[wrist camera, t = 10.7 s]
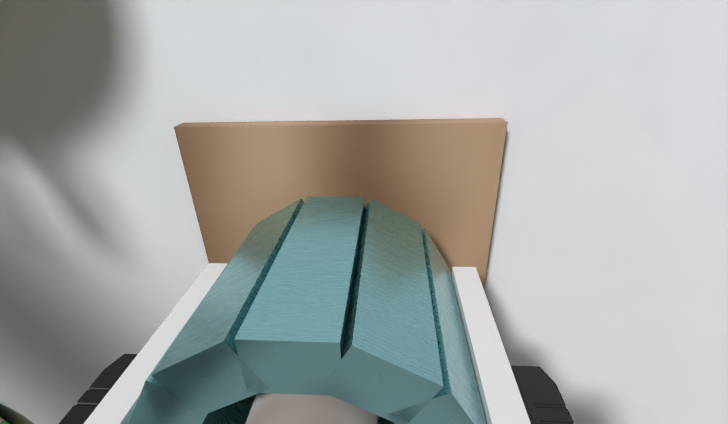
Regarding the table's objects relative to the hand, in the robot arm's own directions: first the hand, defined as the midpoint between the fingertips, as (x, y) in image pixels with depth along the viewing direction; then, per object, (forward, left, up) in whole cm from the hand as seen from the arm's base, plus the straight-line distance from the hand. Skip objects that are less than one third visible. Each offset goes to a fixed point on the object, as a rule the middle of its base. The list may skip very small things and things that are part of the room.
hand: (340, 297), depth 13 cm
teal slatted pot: (0, 0, 0) cm, 0 cm away
